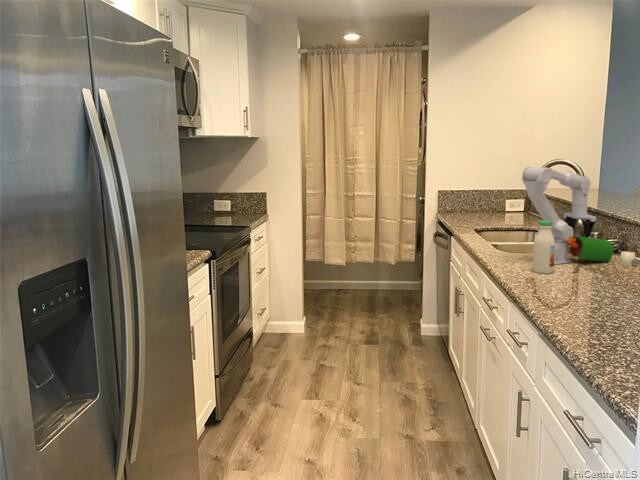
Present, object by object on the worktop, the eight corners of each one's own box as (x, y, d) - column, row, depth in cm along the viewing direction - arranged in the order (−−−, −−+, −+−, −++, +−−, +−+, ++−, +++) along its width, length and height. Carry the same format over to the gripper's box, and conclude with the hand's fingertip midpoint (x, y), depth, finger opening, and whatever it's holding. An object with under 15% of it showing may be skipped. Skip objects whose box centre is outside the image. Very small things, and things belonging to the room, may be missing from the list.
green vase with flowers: (591, 255, 232) (554, 249, 226) (599, 236, 230) (562, 230, 223) (608, 264, 223) (570, 259, 217) (617, 245, 221) (579, 239, 214)
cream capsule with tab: (632, 267, 214) (634, 255, 214) (617, 263, 220) (618, 252, 220) (641, 265, 217) (642, 253, 216) (625, 262, 223) (626, 250, 222)
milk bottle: (543, 275, 203) (547, 223, 200) (527, 271, 210) (530, 220, 206) (557, 272, 207) (561, 221, 203) (541, 268, 213) (544, 219, 210)
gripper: (601, 204, 221) (600, 236, 224) (572, 201, 234) (572, 231, 237) (589, 207, 219) (588, 239, 221) (560, 204, 232) (560, 234, 234)
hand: (579, 235), depth 229 cm, fingers open, 7 cm apart
